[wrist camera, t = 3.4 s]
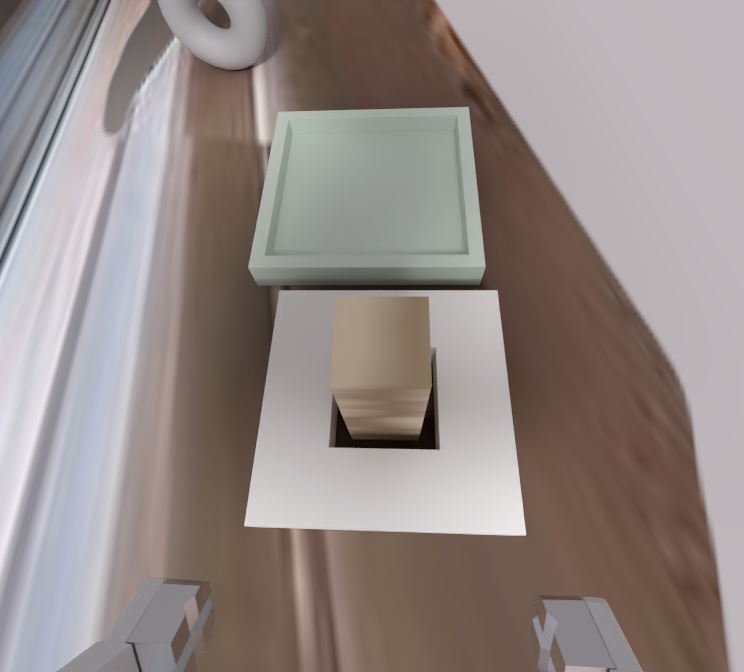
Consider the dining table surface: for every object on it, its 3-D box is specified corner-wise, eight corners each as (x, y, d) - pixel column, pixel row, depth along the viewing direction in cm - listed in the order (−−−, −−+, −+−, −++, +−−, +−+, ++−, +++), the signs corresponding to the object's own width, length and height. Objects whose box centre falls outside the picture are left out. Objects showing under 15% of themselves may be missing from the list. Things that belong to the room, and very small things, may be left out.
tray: (257, 285, 31) (248, 267, 29) (284, 134, 37) (278, 111, 36) (479, 285, 30) (485, 266, 28) (464, 130, 37) (468, 106, 35)
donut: (181, 74, 42) (123, -52, 33) (194, 53, 44) (142, -72, 35) (274, 83, 41) (240, -46, 32) (285, 61, 42) (255, -68, 33)
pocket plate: (258, 527, 23) (244, 525, 21) (288, 309, 29) (279, 290, 27) (513, 535, 23) (526, 535, 20) (489, 309, 29) (497, 290, 26)
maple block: (352, 439, 25) (328, 384, 16) (355, 377, 27) (335, 296, 18) (418, 440, 25) (431, 385, 16) (417, 377, 27) (428, 296, 18)
